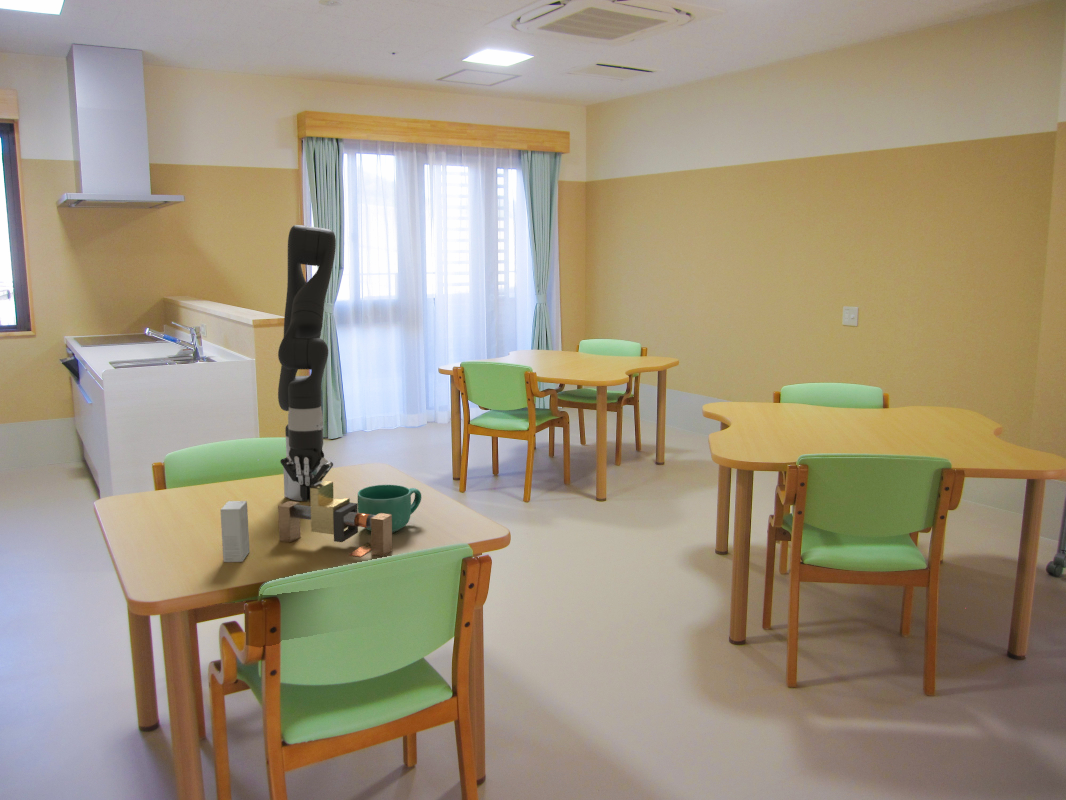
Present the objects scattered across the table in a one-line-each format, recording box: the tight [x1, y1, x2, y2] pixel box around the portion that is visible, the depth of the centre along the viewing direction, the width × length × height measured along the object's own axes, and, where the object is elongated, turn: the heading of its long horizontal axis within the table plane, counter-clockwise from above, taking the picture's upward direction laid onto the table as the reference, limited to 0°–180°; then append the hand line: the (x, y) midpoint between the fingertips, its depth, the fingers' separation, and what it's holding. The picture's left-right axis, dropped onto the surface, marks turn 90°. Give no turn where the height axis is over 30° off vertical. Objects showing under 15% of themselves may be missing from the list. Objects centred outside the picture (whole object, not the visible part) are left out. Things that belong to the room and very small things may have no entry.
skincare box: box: [220, 500, 250, 563], centre depth 177 cm, size 6×4×12 cm
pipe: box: [277, 500, 393, 558], centre depth 185 cm, size 27×8×8 cm, turn 72°
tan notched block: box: [310, 480, 351, 536], centre depth 185 cm, size 6×7×10 cm
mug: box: [357, 484, 422, 533], centre depth 198 cm, size 17×13×10 cm
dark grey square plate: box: [333, 502, 359, 543], centre depth 184 cm, size 2×7×7 cm, turn 162°
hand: (307, 500), depth 186 cm, fingers closed
